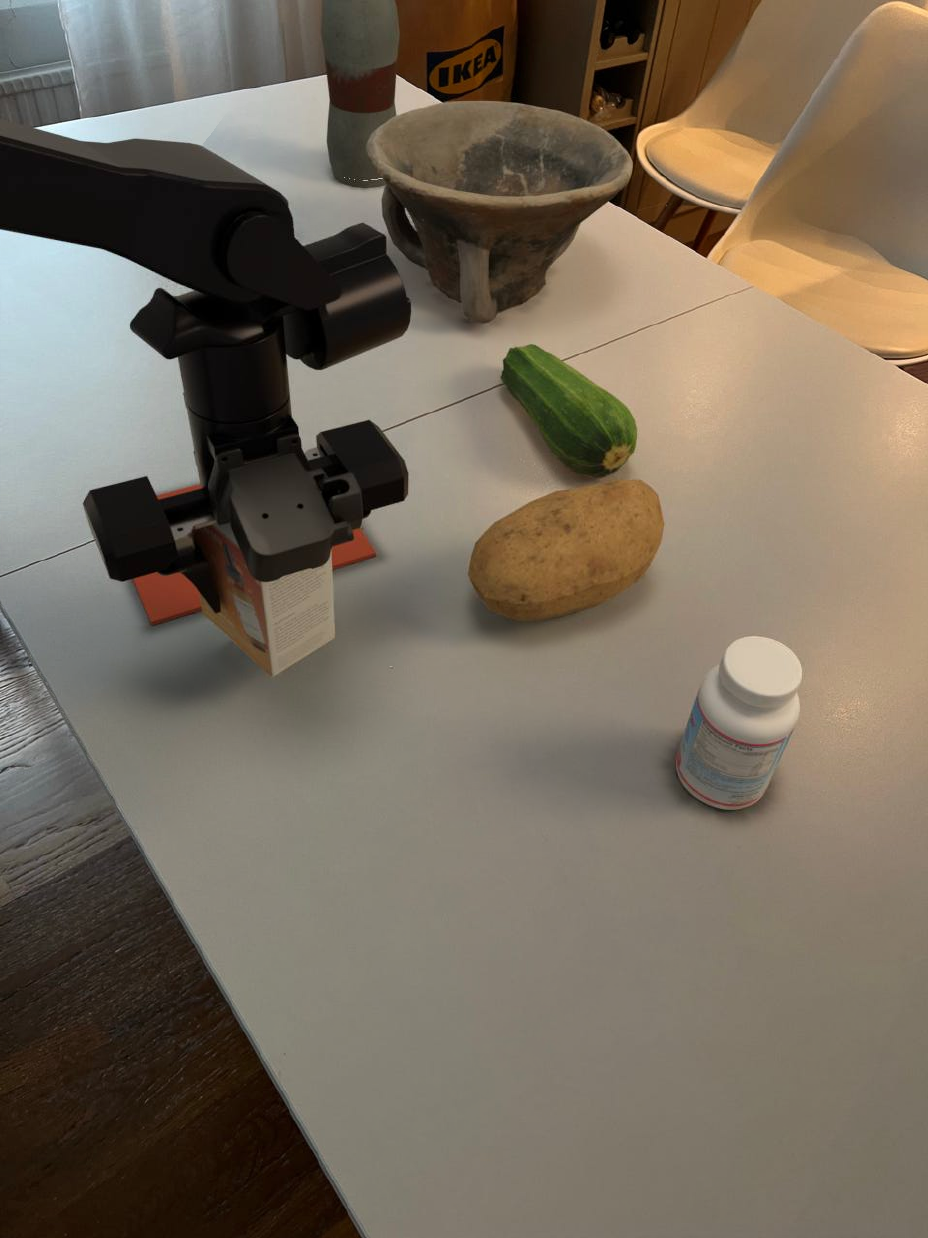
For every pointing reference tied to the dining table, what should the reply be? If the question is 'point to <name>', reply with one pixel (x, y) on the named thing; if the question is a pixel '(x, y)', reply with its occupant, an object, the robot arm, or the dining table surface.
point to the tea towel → (182, 597)
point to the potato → (568, 550)
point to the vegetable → (571, 412)
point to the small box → (267, 604)
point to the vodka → (358, 81)
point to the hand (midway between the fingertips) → (264, 593)
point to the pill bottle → (740, 723)
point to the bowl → (492, 194)
